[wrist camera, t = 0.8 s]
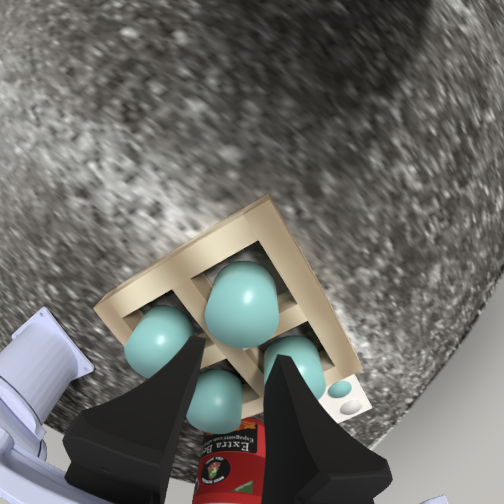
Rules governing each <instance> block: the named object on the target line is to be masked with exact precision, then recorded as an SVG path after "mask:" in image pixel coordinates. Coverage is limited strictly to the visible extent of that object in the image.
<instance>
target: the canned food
mask: <svg viewBox="0 0 504 504" xmlns="http://www.w3.org/2000/svg"><path fill="white" fill-rule="evenodd" d="M265 455H266V447H265V429H264V423H263V422H261V421H259V420H257V419H254V418H250V417H246V418H243V419H241V424H240V426H239V427H238V428H237V429H236V430H234V431H232V432H230V433H225V434H212V433H207V432H205V434H204V438H203V444H202V449H201V455H200V460H199V466H198V471H197V477H196V483H195V489H194V495H193V500H192V504H261V500H262V491H263V481H264V470H265Z"/></svg>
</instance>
